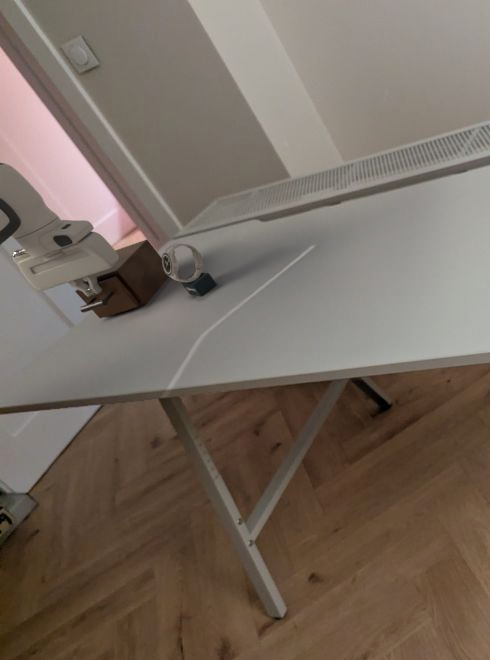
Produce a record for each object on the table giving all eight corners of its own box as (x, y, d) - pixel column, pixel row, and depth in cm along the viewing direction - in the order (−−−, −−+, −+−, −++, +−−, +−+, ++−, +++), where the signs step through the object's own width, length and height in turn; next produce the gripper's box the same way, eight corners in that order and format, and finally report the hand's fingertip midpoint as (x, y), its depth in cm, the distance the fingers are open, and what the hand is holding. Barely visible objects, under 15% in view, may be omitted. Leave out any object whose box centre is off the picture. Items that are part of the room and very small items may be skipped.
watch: (182, 299, 119) (149, 257, 112) (211, 278, 123) (180, 236, 117) (194, 302, 116) (161, 259, 109) (223, 280, 120) (193, 237, 113)
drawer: (127, 318, 118) (101, 290, 114) (89, 330, 121) (62, 303, 116) (163, 275, 133) (141, 249, 128) (128, 287, 135) (106, 261, 130)
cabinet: (145, 304, 124) (116, 270, 118) (104, 317, 126) (74, 284, 121) (172, 272, 135) (147, 239, 130) (134, 284, 138) (107, 252, 132)
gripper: (-3, 260, 110) (48, 313, 118) (78, 232, 106) (126, 289, 114) (17, 246, 115) (65, 298, 123) (95, 218, 111) (140, 274, 119)
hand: (95, 293), depth 119 cm, fingers closed
